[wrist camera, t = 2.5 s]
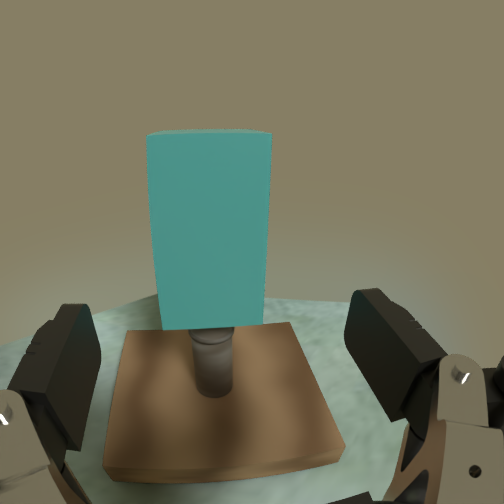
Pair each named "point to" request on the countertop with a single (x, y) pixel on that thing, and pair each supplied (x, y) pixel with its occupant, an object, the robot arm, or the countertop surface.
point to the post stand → (216, 407)
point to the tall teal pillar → (209, 225)
